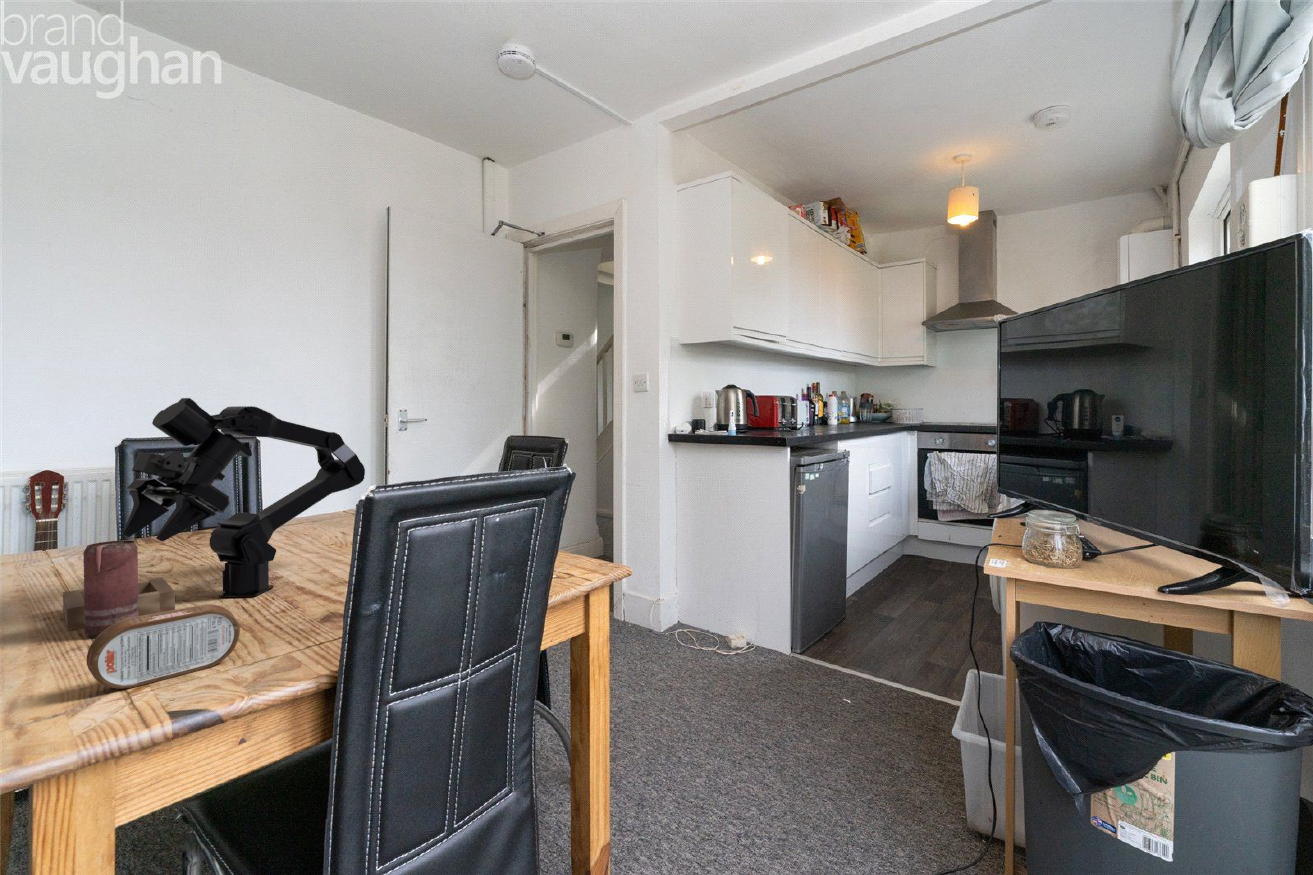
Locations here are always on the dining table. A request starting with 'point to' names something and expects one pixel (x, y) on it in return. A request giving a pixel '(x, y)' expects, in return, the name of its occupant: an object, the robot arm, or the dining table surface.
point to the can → (109, 584)
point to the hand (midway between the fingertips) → (141, 538)
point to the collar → (150, 601)
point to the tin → (162, 645)
